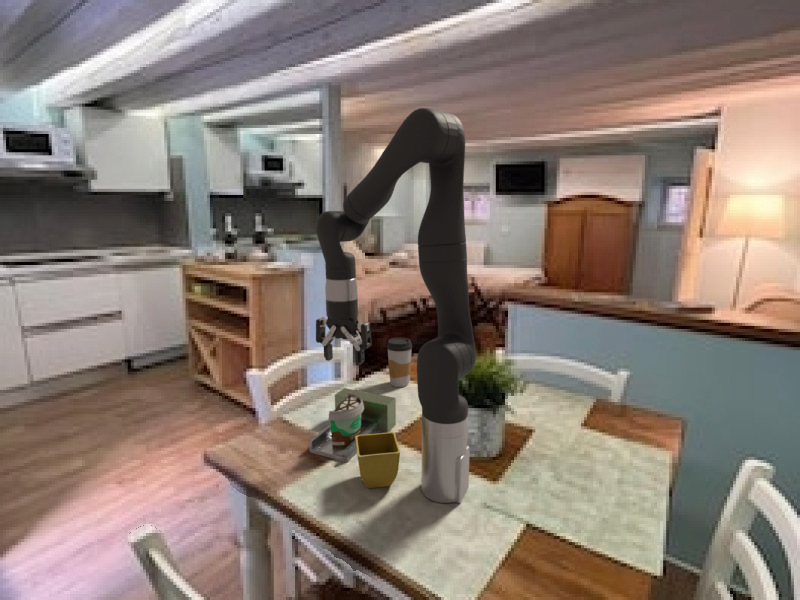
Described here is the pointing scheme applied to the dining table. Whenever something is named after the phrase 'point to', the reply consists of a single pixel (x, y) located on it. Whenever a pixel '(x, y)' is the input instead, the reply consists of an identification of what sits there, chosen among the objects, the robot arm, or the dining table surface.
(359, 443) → the flower pot
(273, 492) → the dining table surface
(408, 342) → the coffee cup
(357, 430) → the food container
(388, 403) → the grey dustpan tray
